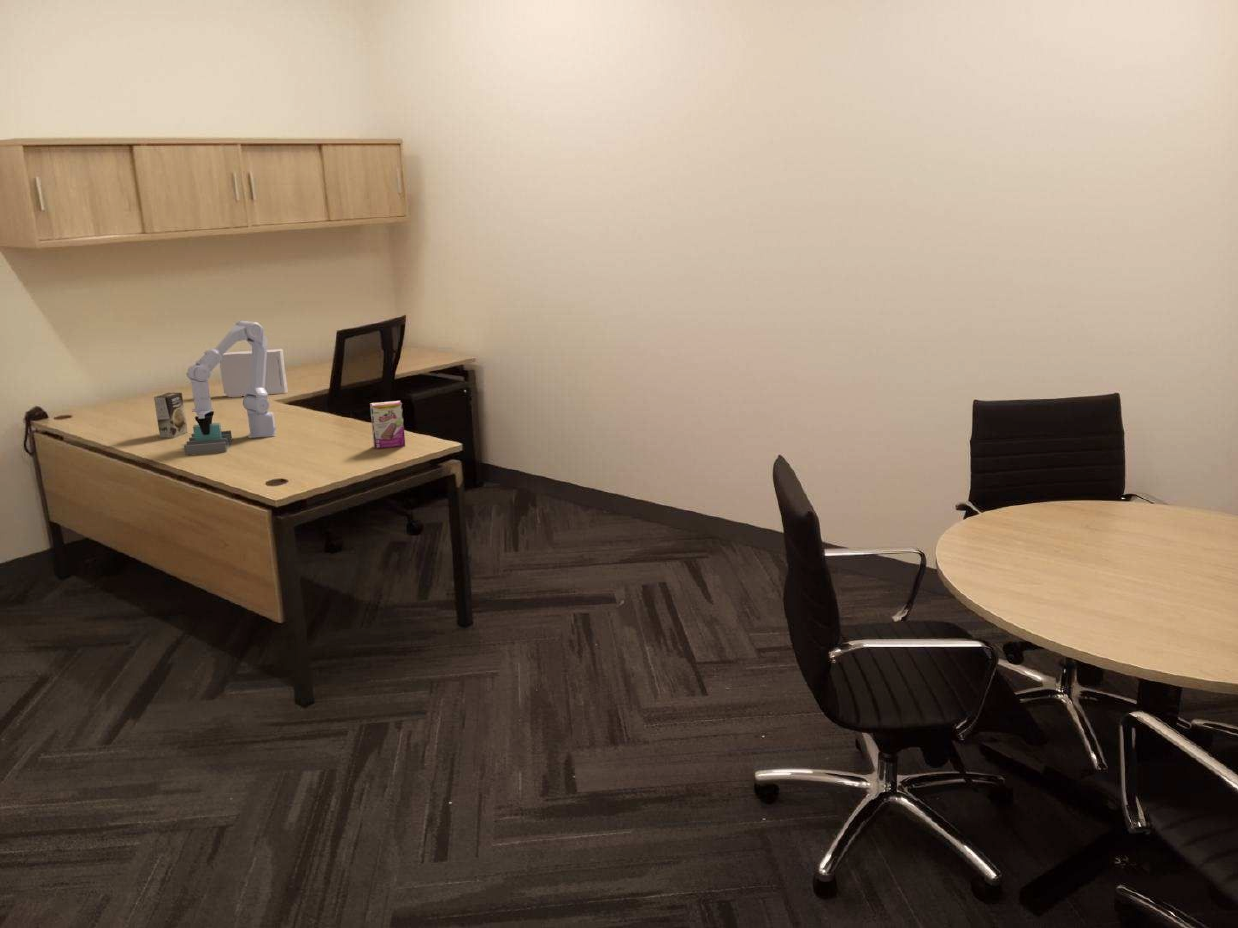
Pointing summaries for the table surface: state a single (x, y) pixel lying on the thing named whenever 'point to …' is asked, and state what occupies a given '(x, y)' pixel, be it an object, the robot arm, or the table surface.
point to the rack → (208, 444)
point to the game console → (238, 373)
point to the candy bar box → (387, 424)
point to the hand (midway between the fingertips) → (207, 433)
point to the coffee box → (170, 415)
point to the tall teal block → (214, 433)
